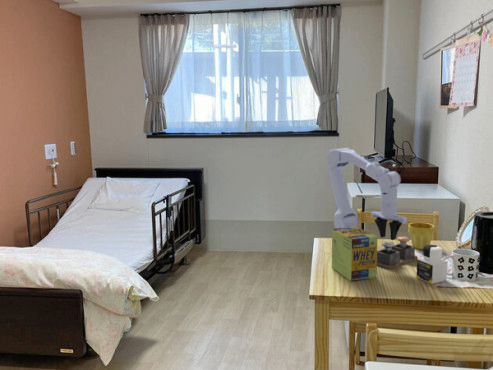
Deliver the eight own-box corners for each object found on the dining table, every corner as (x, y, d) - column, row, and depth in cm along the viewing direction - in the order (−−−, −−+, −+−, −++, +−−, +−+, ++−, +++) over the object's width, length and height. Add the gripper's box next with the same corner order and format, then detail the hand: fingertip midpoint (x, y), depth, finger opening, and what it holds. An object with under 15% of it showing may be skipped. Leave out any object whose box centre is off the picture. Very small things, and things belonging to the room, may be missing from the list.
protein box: (351, 282, 151) (351, 239, 148) (331, 267, 165) (331, 228, 163) (377, 278, 153) (378, 236, 151) (355, 264, 168) (356, 225, 165)
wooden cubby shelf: (389, 269, 161) (390, 256, 161) (372, 263, 168) (372, 251, 167) (417, 258, 172) (417, 246, 171) (399, 253, 178) (400, 242, 177)
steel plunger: (389, 255, 163) (389, 245, 163) (379, 252, 167) (379, 242, 166) (396, 253, 166) (396, 243, 165) (386, 250, 169) (386, 240, 169)
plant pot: (423, 252, 179) (424, 229, 178) (402, 246, 188) (403, 224, 186) (438, 247, 185) (439, 225, 183) (417, 242, 193) (418, 221, 192)
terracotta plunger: (404, 250, 169) (404, 240, 168) (394, 247, 173) (395, 237, 172) (411, 247, 172) (411, 238, 171) (401, 245, 175) (401, 235, 174)
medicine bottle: (415, 277, 153) (417, 245, 151) (431, 274, 156) (432, 242, 154) (431, 284, 146) (433, 250, 144) (447, 280, 149) (448, 247, 147)
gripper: (366, 202, 167) (365, 236, 169) (399, 208, 155) (398, 244, 157) (377, 199, 171) (377, 232, 173) (410, 205, 159) (409, 240, 161)
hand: (388, 238), depth 165 cm, fingers open, 4 cm apart
